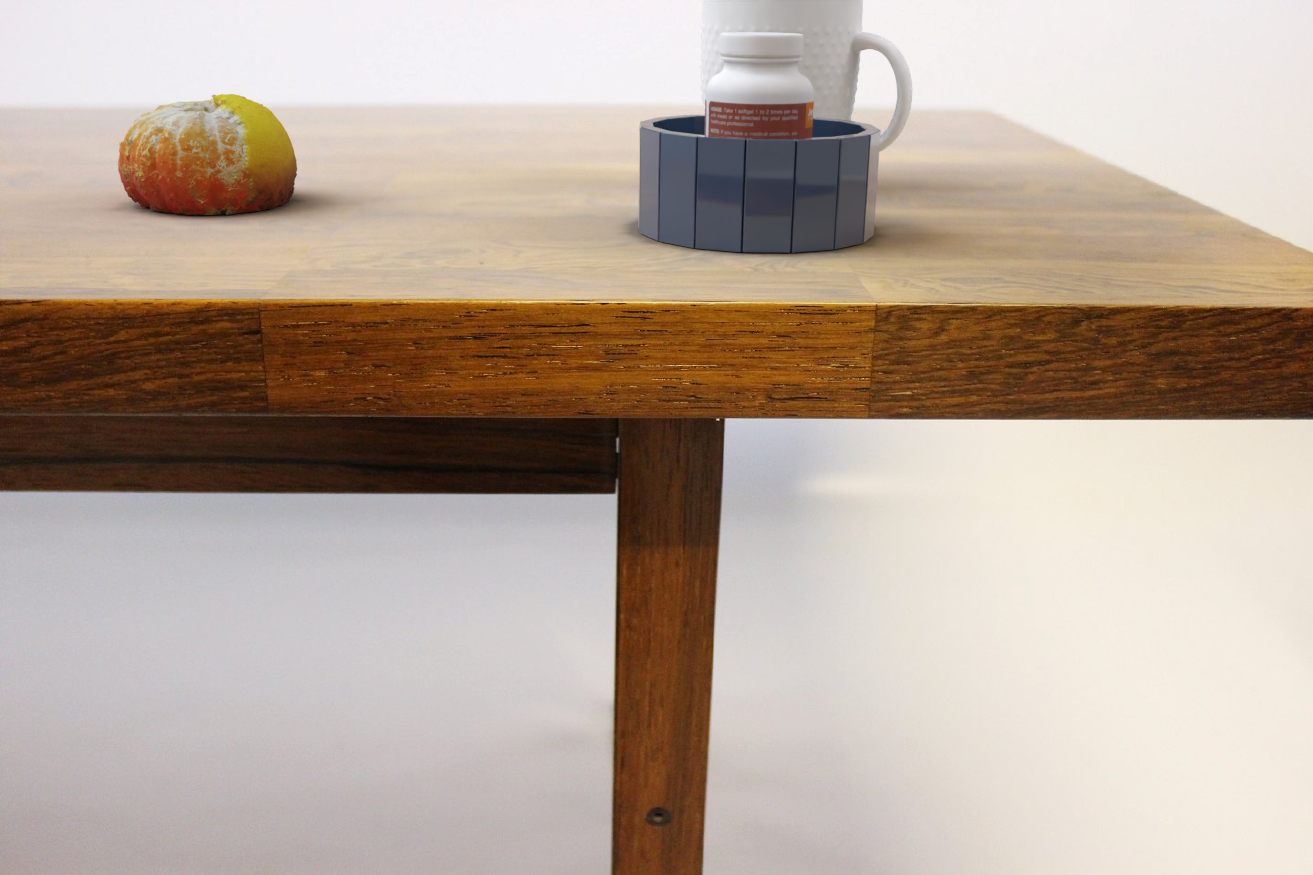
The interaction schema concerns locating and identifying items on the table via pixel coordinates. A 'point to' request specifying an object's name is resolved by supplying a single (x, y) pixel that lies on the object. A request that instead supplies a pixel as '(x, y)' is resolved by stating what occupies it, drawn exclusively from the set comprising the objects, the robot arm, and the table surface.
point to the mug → (811, 50)
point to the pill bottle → (760, 88)
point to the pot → (757, 187)
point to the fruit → (208, 158)
